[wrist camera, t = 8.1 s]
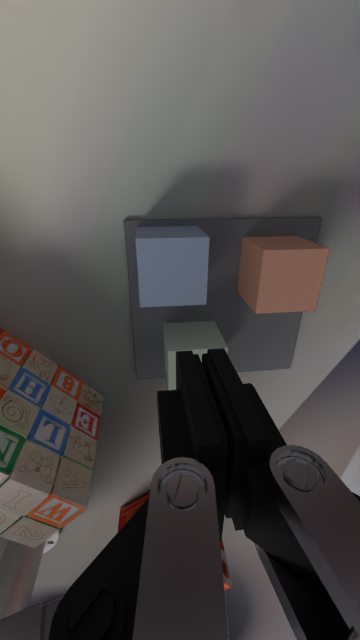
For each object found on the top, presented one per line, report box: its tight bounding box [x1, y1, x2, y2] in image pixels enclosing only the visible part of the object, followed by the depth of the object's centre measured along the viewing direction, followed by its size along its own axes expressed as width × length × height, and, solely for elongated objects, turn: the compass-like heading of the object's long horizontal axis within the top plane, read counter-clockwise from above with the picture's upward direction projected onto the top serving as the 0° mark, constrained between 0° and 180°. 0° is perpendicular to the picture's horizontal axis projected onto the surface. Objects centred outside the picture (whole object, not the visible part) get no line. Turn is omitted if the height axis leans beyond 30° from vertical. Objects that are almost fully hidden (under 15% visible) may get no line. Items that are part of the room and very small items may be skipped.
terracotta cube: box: [237, 236, 330, 314], centre depth 24 cm, size 5×5×5 cm
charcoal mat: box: [124, 217, 322, 379], centre depth 28 cm, size 16×17×1 cm
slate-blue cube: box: [136, 226, 209, 308], centre depth 23 cm, size 5×5×5 cm
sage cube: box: [164, 321, 228, 390], centre depth 27 cm, size 5×5×5 cm
